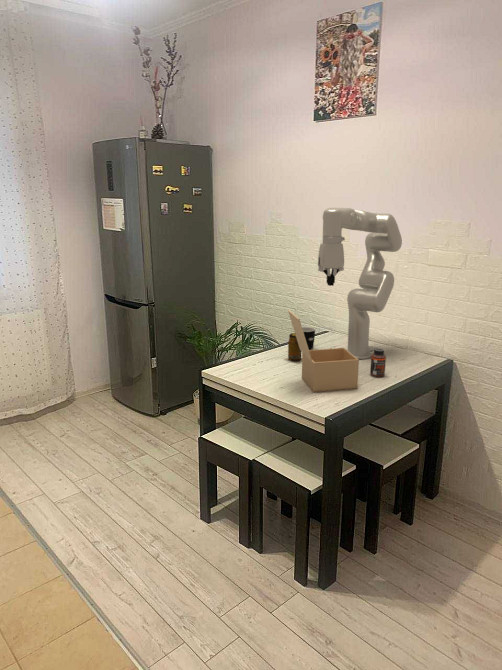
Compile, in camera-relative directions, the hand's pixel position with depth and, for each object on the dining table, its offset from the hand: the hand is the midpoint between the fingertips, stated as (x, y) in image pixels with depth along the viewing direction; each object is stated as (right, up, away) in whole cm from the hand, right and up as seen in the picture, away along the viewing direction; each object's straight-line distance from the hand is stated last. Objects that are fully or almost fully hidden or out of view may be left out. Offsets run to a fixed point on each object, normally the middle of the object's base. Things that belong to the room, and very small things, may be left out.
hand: (330, 285), depth 213 cm
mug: (-5, -28, +40) cm, 49 cm away
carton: (-2, -40, -6) cm, 41 cm away
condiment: (-12, -32, +24) cm, 42 cm away
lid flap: (-14, -21, -14) cm, 28 cm away
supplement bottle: (+20, -38, +3) cm, 43 cm away
